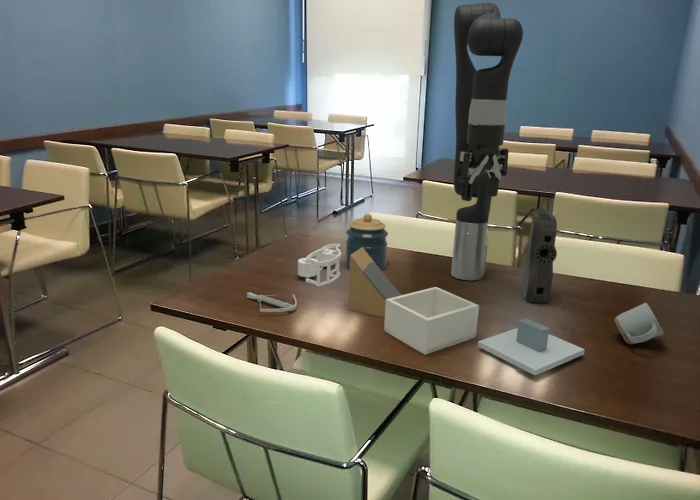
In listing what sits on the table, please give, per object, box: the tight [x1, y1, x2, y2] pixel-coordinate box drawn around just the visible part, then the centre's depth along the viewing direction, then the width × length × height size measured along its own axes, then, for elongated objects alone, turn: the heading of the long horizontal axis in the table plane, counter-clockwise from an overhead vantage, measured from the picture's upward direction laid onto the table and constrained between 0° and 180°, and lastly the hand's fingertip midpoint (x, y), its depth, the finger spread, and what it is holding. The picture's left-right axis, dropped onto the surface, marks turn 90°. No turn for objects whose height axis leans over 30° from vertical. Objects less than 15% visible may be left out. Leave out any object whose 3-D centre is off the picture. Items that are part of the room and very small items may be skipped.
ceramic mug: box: [613, 302, 664, 345], centre depth 123 cm, size 11×8×8 cm
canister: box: [344, 213, 389, 271], centre depth 169 cm, size 13×13×18 cm
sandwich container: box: [348, 247, 402, 318], centre depth 138 cm, size 9×15×15 cm, turn 68°
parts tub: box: [383, 286, 480, 356], centre depth 126 cm, size 16×14×8 cm
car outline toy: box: [297, 243, 342, 287], centre depth 164 cm, size 20×11×7 cm, turn 155°
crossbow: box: [246, 291, 298, 313], centre depth 142 cm, size 16×13×2 cm
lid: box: [477, 318, 586, 376], centre depth 118 cm, size 17×15×7 cm
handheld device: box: [520, 208, 558, 304], centre depth 148 cm, size 6×15×25 cm, turn 176°
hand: (479, 198), depth 118 cm, fingers open, 8 cm apart
